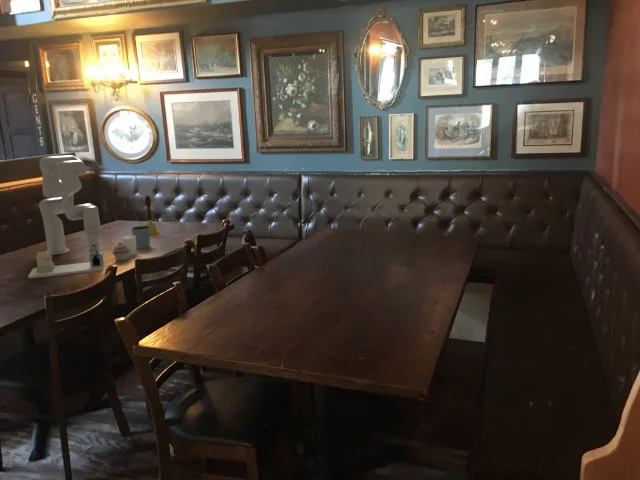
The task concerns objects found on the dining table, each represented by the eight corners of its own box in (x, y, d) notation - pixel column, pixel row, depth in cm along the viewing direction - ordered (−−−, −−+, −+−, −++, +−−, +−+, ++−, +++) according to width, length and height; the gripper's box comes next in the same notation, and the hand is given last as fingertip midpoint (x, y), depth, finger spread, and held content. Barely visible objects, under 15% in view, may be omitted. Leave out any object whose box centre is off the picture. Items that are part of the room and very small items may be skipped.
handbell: (146, 231, 360) (142, 194, 354) (164, 231, 358) (160, 194, 352) (138, 235, 348) (133, 197, 342) (156, 235, 346) (152, 197, 340)
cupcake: (109, 262, 287) (107, 244, 285) (121, 257, 296) (119, 239, 293) (123, 263, 284) (121, 245, 282) (135, 258, 292) (133, 240, 290)
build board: (33, 270, 275) (32, 262, 274) (104, 262, 286) (103, 255, 285) (28, 278, 261) (27, 270, 260) (103, 270, 272) (101, 262, 271)
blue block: (91, 264, 279) (89, 253, 278) (103, 262, 281) (102, 251, 280) (90, 267, 274) (89, 255, 272) (103, 265, 276) (101, 254, 274)
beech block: (39, 263, 271) (37, 252, 270) (52, 262, 273) (50, 251, 272) (37, 267, 266) (35, 255, 264) (51, 265, 268) (49, 254, 266)
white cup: (132, 256, 297) (130, 238, 295) (120, 255, 299) (117, 238, 297) (140, 252, 305) (138, 235, 303) (127, 252, 307) (125, 235, 304)
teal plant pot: (130, 248, 314) (127, 228, 312) (141, 244, 323) (139, 225, 321) (143, 249, 311) (141, 229, 308) (155, 245, 320) (153, 226, 317)
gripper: (86, 227, 280) (90, 260, 284) (83, 234, 264) (88, 269, 268) (101, 226, 282) (105, 258, 286) (99, 232, 266) (104, 267, 270)
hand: (97, 263), depth 277 cm, fingers closed on blue block, 6 cm apart
